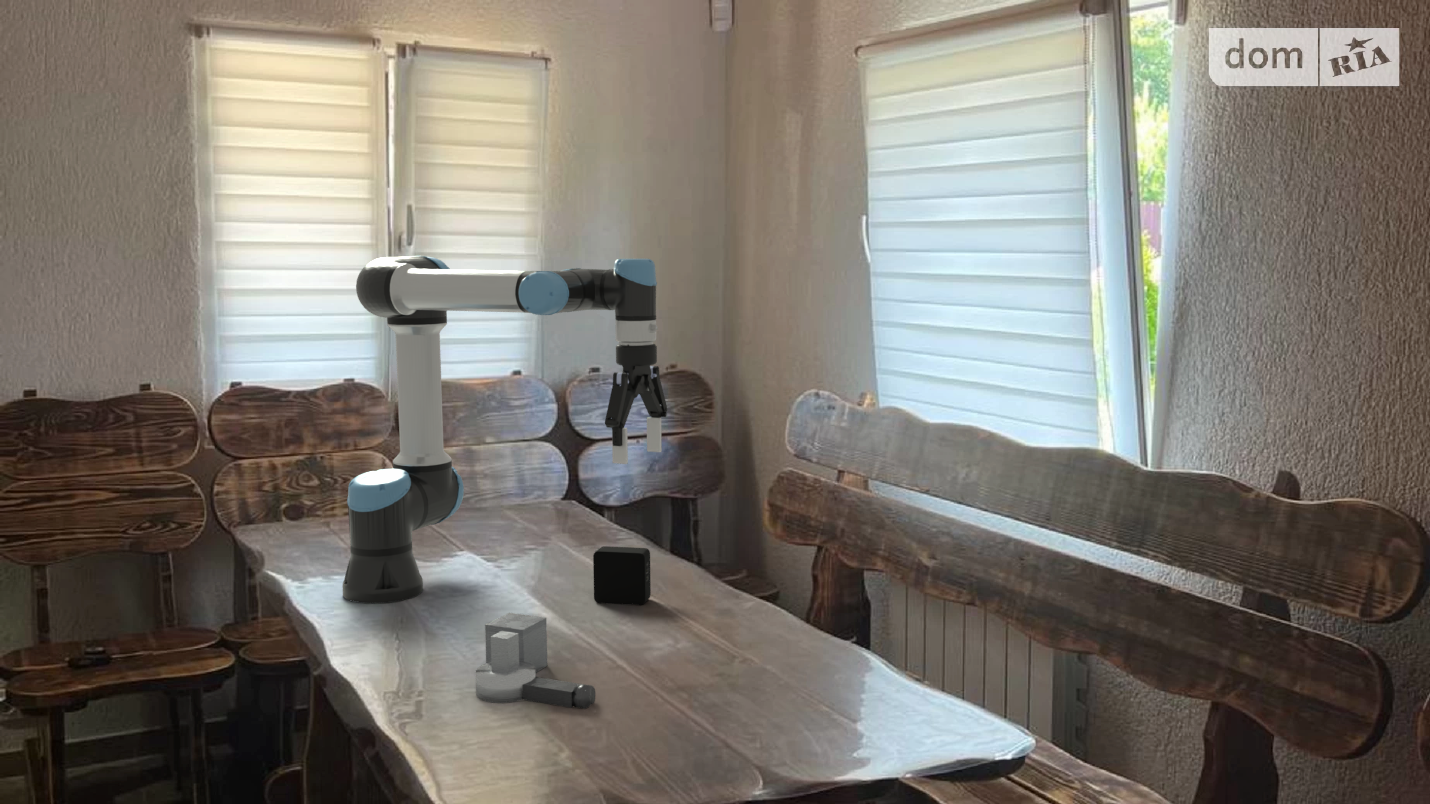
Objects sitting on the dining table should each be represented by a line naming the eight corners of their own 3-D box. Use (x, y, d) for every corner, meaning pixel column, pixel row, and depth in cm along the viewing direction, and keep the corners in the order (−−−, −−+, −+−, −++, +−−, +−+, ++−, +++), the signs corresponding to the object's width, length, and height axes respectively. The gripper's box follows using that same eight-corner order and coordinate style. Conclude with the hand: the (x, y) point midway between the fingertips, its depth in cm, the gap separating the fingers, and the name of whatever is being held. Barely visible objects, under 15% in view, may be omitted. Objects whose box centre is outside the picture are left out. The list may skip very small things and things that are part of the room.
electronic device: (645, 605, 244) (644, 553, 243) (593, 602, 246) (593, 551, 245) (650, 599, 248) (650, 548, 247) (600, 596, 250) (599, 545, 249)
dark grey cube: (486, 673, 207) (485, 624, 206) (510, 660, 214) (509, 612, 213) (524, 679, 204) (523, 629, 203) (547, 665, 211) (546, 617, 210)
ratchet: (464, 701, 197) (462, 639, 195) (497, 682, 205) (495, 623, 203) (574, 719, 189) (573, 655, 188) (604, 699, 197) (603, 637, 196)
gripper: (621, 349, 226) (623, 470, 229) (684, 338, 249) (685, 448, 252) (584, 348, 229) (586, 467, 232) (649, 337, 252) (650, 445, 255)
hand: (637, 457), depth 242 cm, fingers open, 13 cm apart
